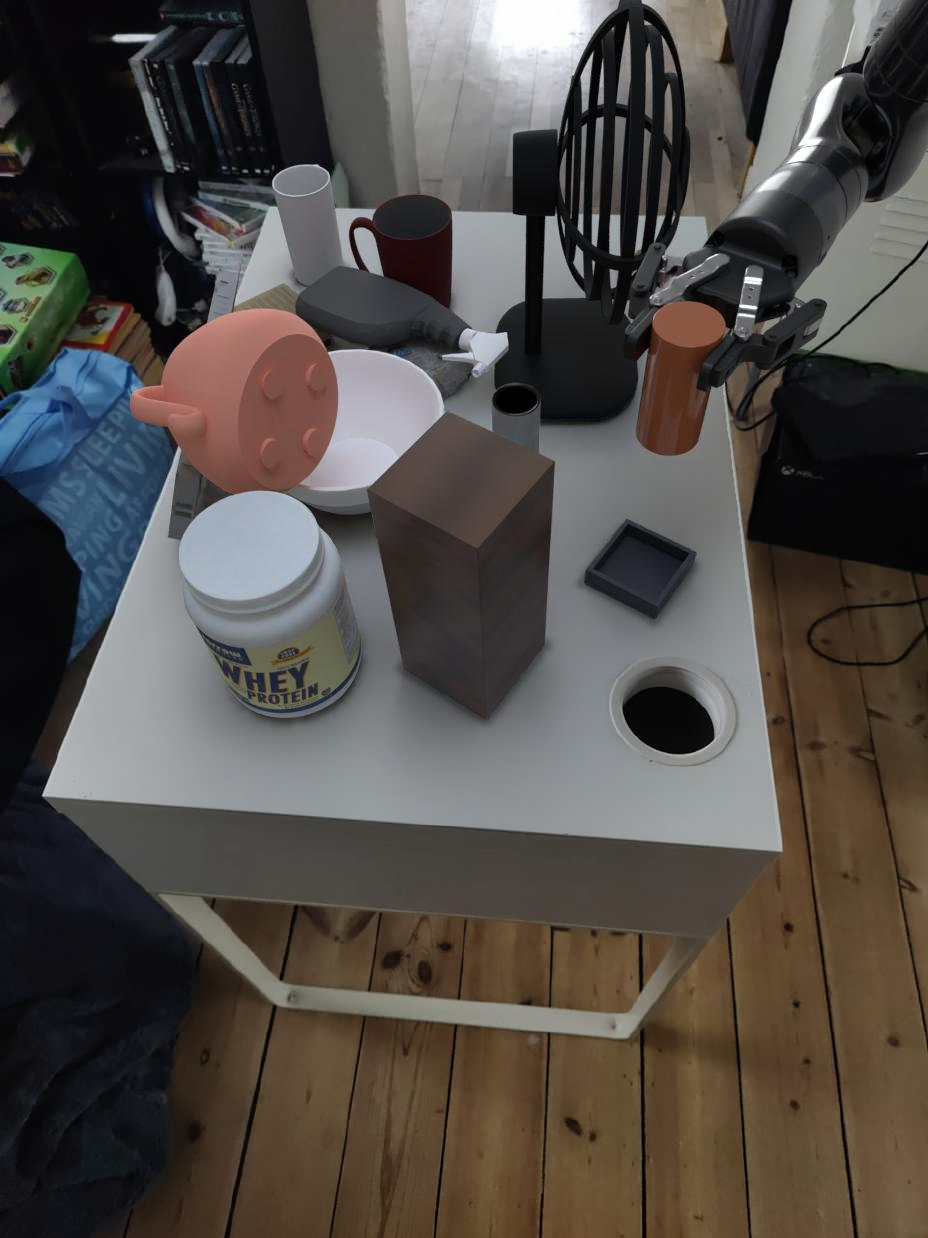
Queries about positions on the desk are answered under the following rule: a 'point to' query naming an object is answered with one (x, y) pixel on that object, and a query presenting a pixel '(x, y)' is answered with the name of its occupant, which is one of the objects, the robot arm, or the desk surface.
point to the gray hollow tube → (517, 414)
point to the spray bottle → (392, 316)
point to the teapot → (247, 400)
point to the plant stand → (466, 558)
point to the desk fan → (593, 326)
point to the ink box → (281, 306)
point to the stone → (432, 362)
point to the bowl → (369, 427)
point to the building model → (187, 474)
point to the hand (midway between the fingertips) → (666, 364)
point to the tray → (640, 568)
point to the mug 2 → (412, 243)
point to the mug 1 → (308, 221)
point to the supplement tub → (271, 603)
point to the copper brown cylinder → (676, 377)
